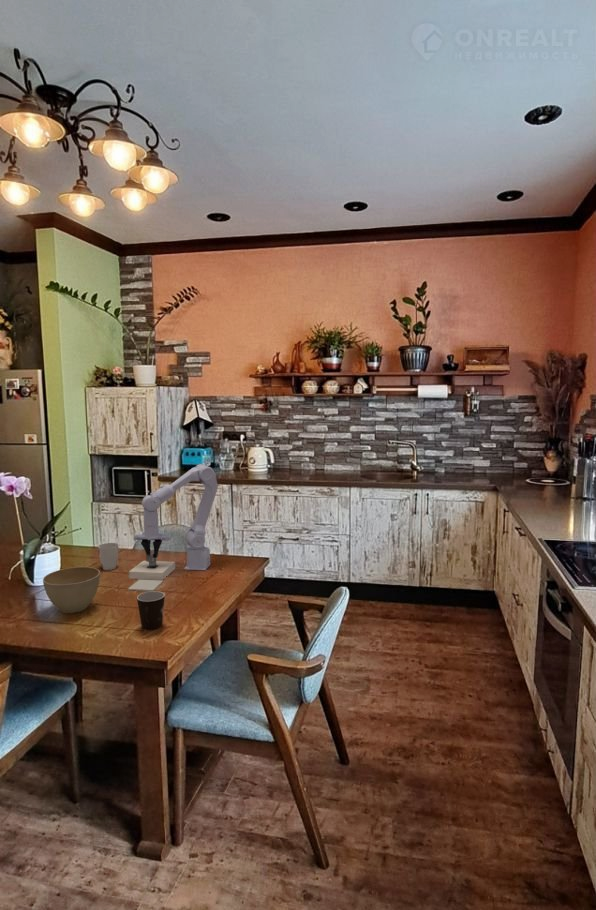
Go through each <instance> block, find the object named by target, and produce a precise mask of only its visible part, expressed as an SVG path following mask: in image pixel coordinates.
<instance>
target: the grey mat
mask: <svg viewBox="0 0 596 910" xmlns="http://www.w3.org/2000/svg"><path fill="white" fill-rule="evenodd" d="M163 583H164V580H147V579H137V581H136V582H134V583H133V584H132V585H130V587H128V588H127V590H128V591H133V590H136V591H138V592H150V591H156V590H157V589H158V588H159V587H160V586H161V585H162V584H163ZM157 587H158V588H157Z"/></svg>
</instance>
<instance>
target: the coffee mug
mask: <svg viewBox="0 0 596 910" xmlns="http://www.w3.org/2000/svg"><path fill="white" fill-rule="evenodd" d="M165 595H166V594H165V593H164V592H163V591H157V590H154V591H144V592H142V593H140V594H138V595H137V597H136V600H137V608H138V613H139V618H140V619H139V620H140V625H141V629H142V630H144V631H156V630H159V629H161V628H162V627H161V626H163V619H164V608H165V597H166V596H165ZM158 628H159V629H158ZM155 629H156V630H155Z"/></svg>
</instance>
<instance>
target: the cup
mask: <svg viewBox="0 0 596 910" xmlns="http://www.w3.org/2000/svg"><path fill="white" fill-rule="evenodd" d="M97 547H98V549H97V550H98V556H99V560H100V565H101V568H102V570H103V571H112V569H113V570H115V569H116V568H117V564H118V558H119V543H117V542H106V543H101V544H99V545H98V546H97Z"/></svg>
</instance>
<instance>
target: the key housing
mask: <svg viewBox="0 0 596 910" xmlns="http://www.w3.org/2000/svg"><path fill="white" fill-rule="evenodd" d="M156 565H157V568H149V562H146V560H142V561H141V562H140V563H138V564H137V565H136V566H135V567H133V568H132V569H130V570H129V571H128V574H129V575H128V578H129V579H132V580H160V581H164V580H165V579H166V578H167V577H168V576H169V575H170V574H171V573H173V572H174V570H175V569H176V562H175V561H163V560H161V561H160V560H156ZM166 576H167V577H166ZM164 578H165V579H164ZM163 579H164V580H163Z"/></svg>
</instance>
